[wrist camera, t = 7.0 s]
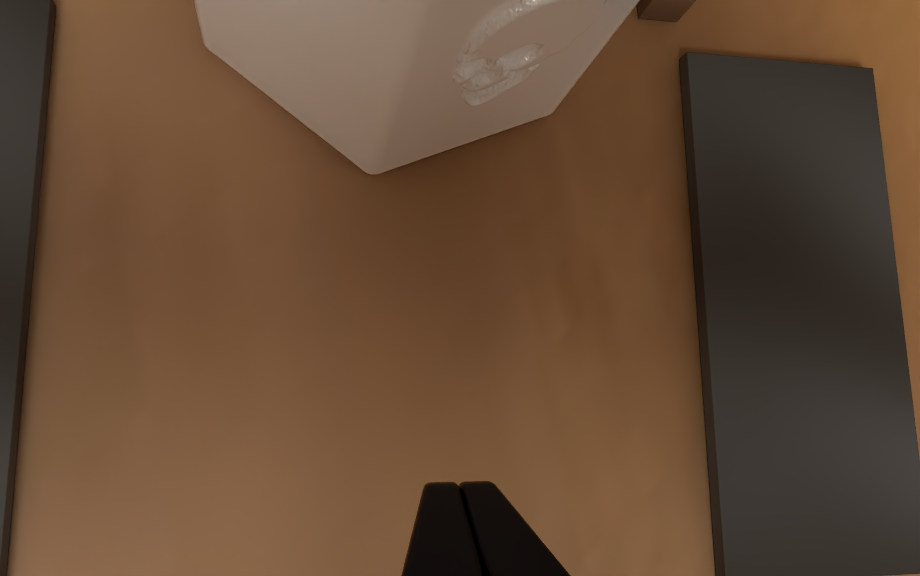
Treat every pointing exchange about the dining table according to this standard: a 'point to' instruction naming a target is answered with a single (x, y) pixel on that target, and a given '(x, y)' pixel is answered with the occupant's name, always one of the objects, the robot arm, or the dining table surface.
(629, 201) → the dining table surface
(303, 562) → the dining table surface
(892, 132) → the dining table surface
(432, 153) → the jar
